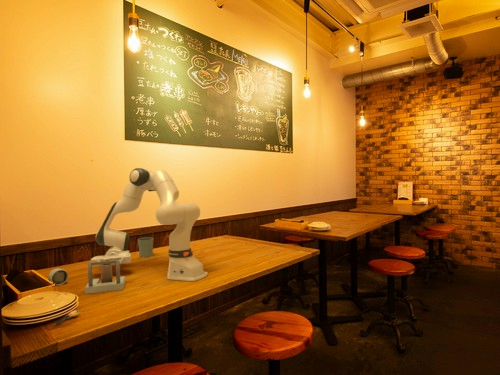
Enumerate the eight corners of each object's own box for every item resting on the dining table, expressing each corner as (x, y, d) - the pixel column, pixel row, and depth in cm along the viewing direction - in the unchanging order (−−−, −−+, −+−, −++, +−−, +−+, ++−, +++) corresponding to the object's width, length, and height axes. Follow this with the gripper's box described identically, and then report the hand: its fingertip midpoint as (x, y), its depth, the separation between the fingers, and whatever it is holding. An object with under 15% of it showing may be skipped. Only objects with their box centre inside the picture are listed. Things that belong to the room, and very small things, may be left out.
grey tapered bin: (148, 258, 208) (148, 240, 208) (135, 257, 210) (134, 239, 210) (156, 254, 218) (155, 237, 218) (143, 254, 220) (142, 237, 220)
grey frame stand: (90, 285, 156) (89, 257, 155) (125, 281, 160) (124, 254, 160) (85, 293, 144) (84, 263, 144) (122, 289, 149) (121, 260, 148)
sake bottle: (114, 285, 155) (113, 257, 155) (105, 288, 151) (105, 259, 150) (108, 283, 157) (107, 256, 157) (99, 287, 153) (98, 258, 153)
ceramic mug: (63, 279, 166) (63, 265, 165) (68, 283, 160) (68, 268, 160) (40, 285, 158) (39, 270, 158) (44, 289, 152) (43, 273, 152)
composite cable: (56, 327, 112) (56, 320, 112) (48, 324, 114) (48, 318, 114) (81, 316, 121) (81, 310, 121) (73, 314, 123) (73, 308, 123)
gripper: (92, 253, 175) (87, 259, 161) (131, 250, 180) (129, 255, 167) (93, 264, 175) (88, 271, 162) (132, 260, 181) (130, 267, 167)
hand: (109, 263), depth 164 cm, fingers open, 8 cm apart
